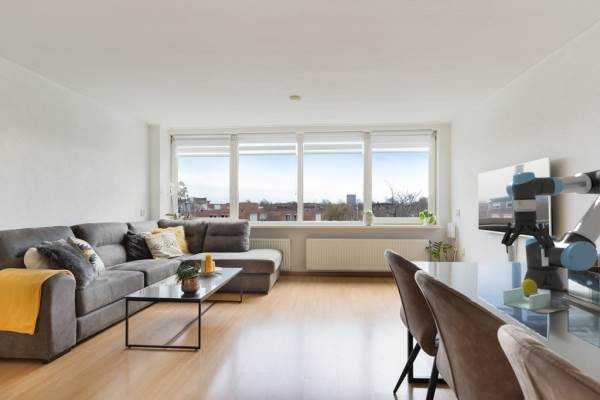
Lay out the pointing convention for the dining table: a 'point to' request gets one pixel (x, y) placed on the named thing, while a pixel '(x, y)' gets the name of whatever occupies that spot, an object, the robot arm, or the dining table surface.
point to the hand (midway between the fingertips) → (527, 263)
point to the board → (547, 310)
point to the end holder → (534, 303)
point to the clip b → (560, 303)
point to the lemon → (529, 287)
